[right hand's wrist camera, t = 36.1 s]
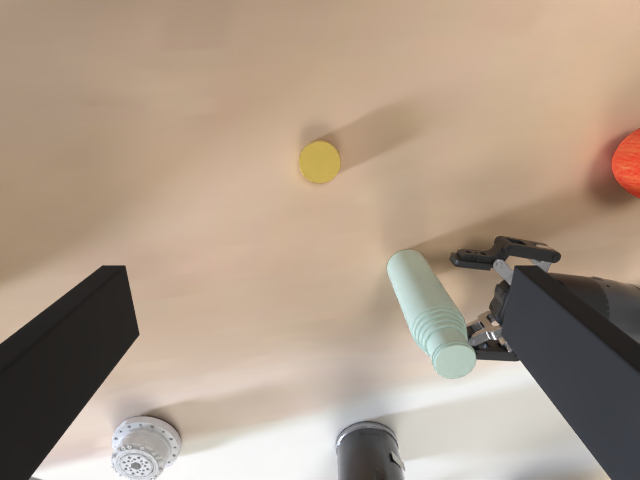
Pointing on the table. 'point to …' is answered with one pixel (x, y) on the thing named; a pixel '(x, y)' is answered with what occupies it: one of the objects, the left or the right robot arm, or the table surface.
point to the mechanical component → (144, 448)
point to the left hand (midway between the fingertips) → (442, 294)
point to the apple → (628, 163)
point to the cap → (319, 161)
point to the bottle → (431, 314)
